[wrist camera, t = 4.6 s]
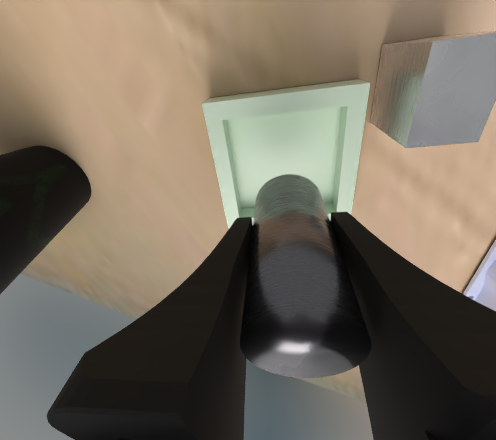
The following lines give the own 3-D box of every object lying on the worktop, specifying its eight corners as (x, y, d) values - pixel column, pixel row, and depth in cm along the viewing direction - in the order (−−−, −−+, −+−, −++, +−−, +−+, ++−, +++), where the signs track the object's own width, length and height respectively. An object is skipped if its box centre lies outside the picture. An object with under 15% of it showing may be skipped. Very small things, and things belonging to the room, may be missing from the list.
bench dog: (421, 116, 15) (477, 141, 11) (369, 122, 15) (405, 148, 11) (443, 35, 12) (526, 28, 8) (382, 44, 13) (432, 41, 9)
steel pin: (317, 231, 12) (355, 381, 7) (256, 230, 13) (243, 373, 7) (326, 174, 11) (389, 314, 5) (254, 174, 11) (235, 306, 5)
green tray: (343, 209, 19) (349, 223, 17) (232, 215, 20) (228, 229, 19) (359, 79, 14) (370, 82, 12) (209, 97, 15) (201, 103, 14)
